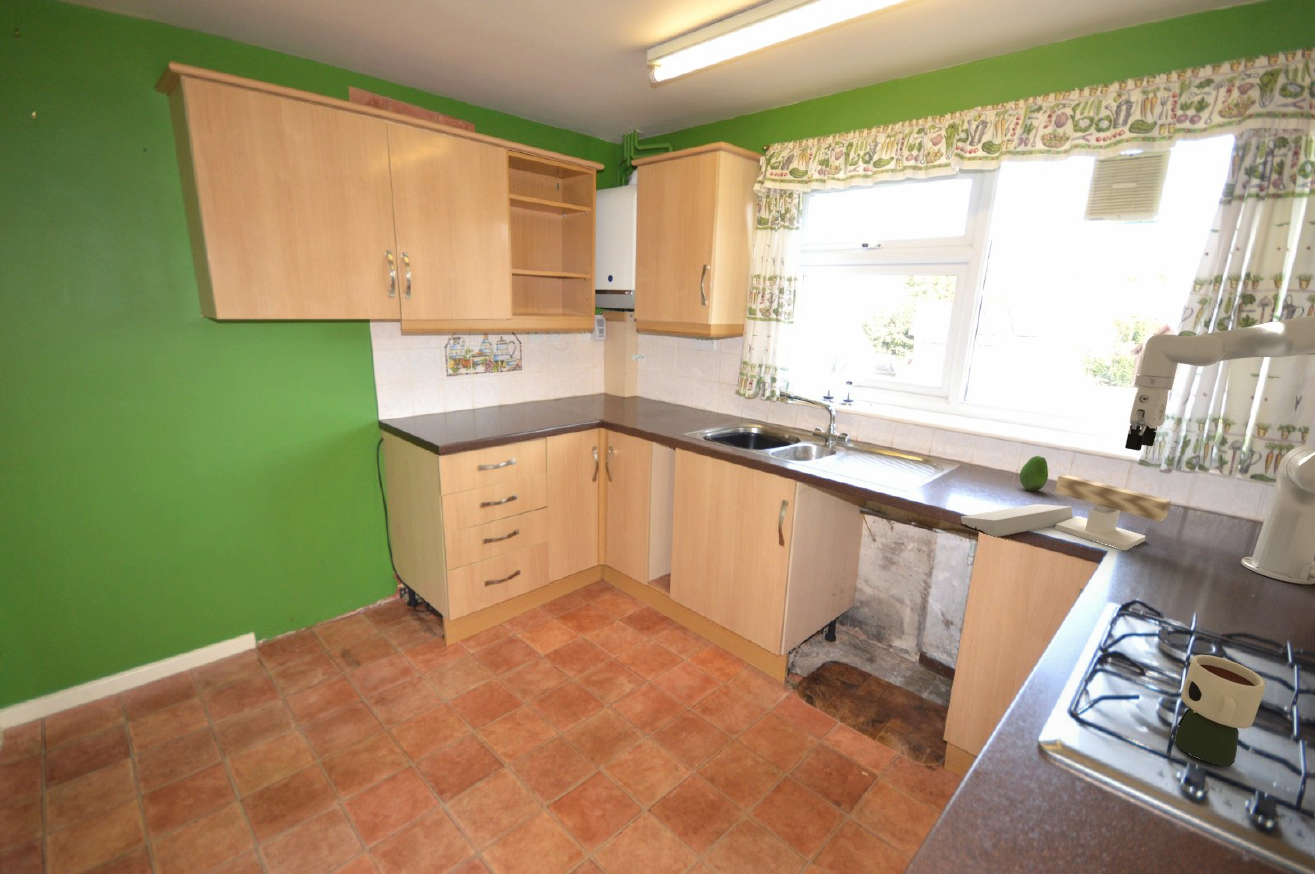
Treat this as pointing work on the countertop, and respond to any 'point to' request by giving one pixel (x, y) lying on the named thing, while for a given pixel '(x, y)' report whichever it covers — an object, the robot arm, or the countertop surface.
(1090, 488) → the beech batten
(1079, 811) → the countertop surface
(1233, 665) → the character mug
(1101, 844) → the countertop surface
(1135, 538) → the balance stand
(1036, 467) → the fruit
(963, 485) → the countertop surface
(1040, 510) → the white flat block
